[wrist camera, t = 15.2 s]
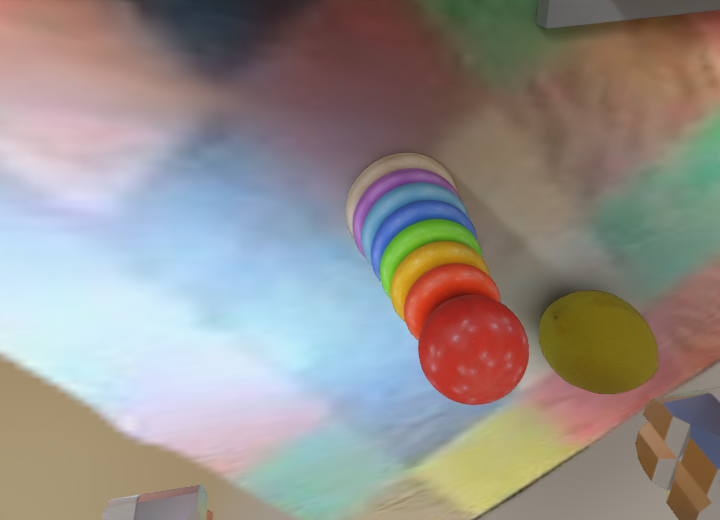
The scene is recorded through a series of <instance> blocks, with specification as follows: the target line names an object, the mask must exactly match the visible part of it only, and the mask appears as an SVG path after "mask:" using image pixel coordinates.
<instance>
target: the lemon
mask: <svg viewBox="0 0 720 520" xmlns="http://www.w3.org/2000/svg"><path fill="white" fill-rule="evenodd" d="M539 343H540V346H541V349H542V353H543V355H544V356H545V358H546V360H547V361H548V363H549V365H550V366H551V367H552V368H553V370H554V371H555V372H556V373H557V374H558V375H559V376H560V377H562V378H563V379H564V380H565V381H567V382H568V383H570V384H572V385H574V386H577V387H579V388H582V389H584V390H587V391H591V392H594V393H598V394H616V393H622V392H627V391H629V390H632V389H635V388H637V387H638V386H640V385H642V384H643V383H645V382H646V381H648V380H649V379H650V378H652V376H653V375H654V374H655V373H656V372H657V369H658V350H657V344H656V340H655V337H654V335H653V333H652V331H651V329H650V327H649V325H648V324H647V322H646V321H645V320H644V318H643V317H642V316H641V315H640V314H639V313H638V312H637V311H636V309H635V308H633V307H632V306H631V305H630V304H628V303H627V302H625V301H623V300H622V299H620V298H618V297H616V296H614V295H612V294H609V293H606V292H601V291H595V290H591V291H578V292H573V293H570V294H568V295H566V296H563V297H561V298H560V299H558V300H556V301H555V302H553V303H552V304H550V305H549V307H548V308H547V309H546V310H545V312H544V314H543V315H542V317H541V320H540V322H539Z"/></svg>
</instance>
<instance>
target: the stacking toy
mask: <svg viewBox="0 0 720 520" xmlns="http://www.w3.org/2000/svg"><path fill="white" fill-rule="evenodd" d="M346 221H347V225H348V228H349V231H350V233H351V235H352V236H353V238H354V239H355V242H356V244H357V247H358V248H359V250H360V252H361V253H362V254H363V256H364V257H365V258H366V259H367V260H368V262H369V263H370V264H371V266H372V267H373V270H374V272H375V274H376V276H377V277H378V279H379V280H380V281H381V283H382V286H383V288H384V290H385V292H386V294H387V295H388V297H389V298H390V299H391V301H392V304H393V307H394V309H395V311H396V312H397V314H398V315H399V316H400V317H401V319H402V320H404V321H405V322H406V324H407V327H408V329H409V331H410V332H411V334H412V335H413V336H414V337H415V338H416V339H417V340H418V341H419V346H418V351H419V358H420V363H421V367H422V370H423V372H424V374H425V376H426V377H427V379H428V381H429V382H430V383H431V384H432V385H433V387H434V388H435V389H436V390H438V391H439V392H440V393H441V394H443V395H444V396H446V397H447V398H449V399H451V400H453V401H456V402H459V403H463V404H469V405H479V404H486V403H490V402H493V401H496V400H498V399H500V398H502V397H504V396H505V395H507V394H508V393H510V392H511V391H512V390H513V389H514V388H515V387H516V386H517V384H518V383H519V382H520V380H521V379H522V377H523V375H524V373H525V370H526V367H527V364H528V358H529V344H528V339H527V336H526V333H525V330H524V328H523V326H522V324H521V322H520V321H519V319H518V318H517V317H516V316H515V314H514V313H513V312H512V311H511V310H510V309H508V308H507V307H506V306H505V305H503V304H502V303H500V294H499V291H498V288H497V286H496V285H495V283H494V281H493V280H492V279H491V278H490V276H489V271H488V268H487V266H486V264H485V262H484V260H483V259H482V252H481V248H480V246H479V244H478V242H477V235H476V232H475V229H474V226H473V224H472V222H471V221H470V219H469V215H468V212H467V210H466V208H465V206H464V204H463V203H462V202H461V199H460V197H459V195H458V191H457V188H456V185H455V182H454V180H453V178H452V177H451V175H450V173H449V172H448V171H447V170H446V169H445V168H444V167H443V166H442V165H441V164H440V163H439V162H437V161H436V160H434V159H432V158H430V157H428V156H425V155H422V154H417V153H397V154H392V155H389V156H386V157H383V158H381V159H379V160H377V161H375V162H374V163H372V164H371V165H369V166H368V167H367V168H366V169H365V170H364V171H363V172H362V173H361V174H360V175H359V176H358V177H357V179H356V180H355V182H354V183H353V185H352V187H351V189H350V191H349V194H348V197H347V201H346Z"/></svg>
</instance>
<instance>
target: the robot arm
mask: <svg viewBox="0 0 720 520" xmlns="http://www.w3.org/2000/svg"><path fill="white" fill-rule="evenodd" d="M643 415H644V416H645V417H646V419H647V420H648V422H647V423H646V424H645V425H644V426H643V427H642V428H641V429H640V430H639V431H638V435H637V439H636V443H635V444H636V449H637V455H638V459H639V461H640V463H641V466H642V468H643V470H644V471H645V473H646V474H647V476H648V477H649V478H650V480H651V481H652V482H653V483H655V484H657V485H659V486H661V487H662V488H664V489H666V490H667V497H666V500H667V501H666V502H667V504H668V506H669V507H670V508H671V510H672V511H673V513H674V514H675V515H676V517H677V518H678V519H679V520H720V387H718V388H713V389H707V390H702V391H693V392H688V393H683V394H678V395H673V396H668V397H663V398H658V399H653V400H651V401H650V402H649V403H648V404H646V407H645V410H644V413H643ZM102 520H215V518H214V515H213V513H212V512H210V511H209V510H207V494H206V491H205V489H204V486H203V485H197V486H191V487H185V488H179V489H173V490H166V491H160V492H154V493H147V494H142V495H135V496H129V497H124V498H119V499H113V500H109V502H108V504H107V506H106V508H105V510H104V513H103V517H102Z"/></svg>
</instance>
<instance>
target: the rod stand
mask: <svg viewBox="0 0 720 520" xmlns="http://www.w3.org/2000/svg"><path fill="white" fill-rule="evenodd" d="M716 10H720V0H538V6H537V16H536V24H537V25H539V26H541V27H544V28H546V29H548V28H558V27H567V26H576V25H586V24H595V23H604V22H614V21H623V20H632V19H642V18H651V17H660V16H669V15H679V14H688V13H697V12H707V11H716Z"/></svg>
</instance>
